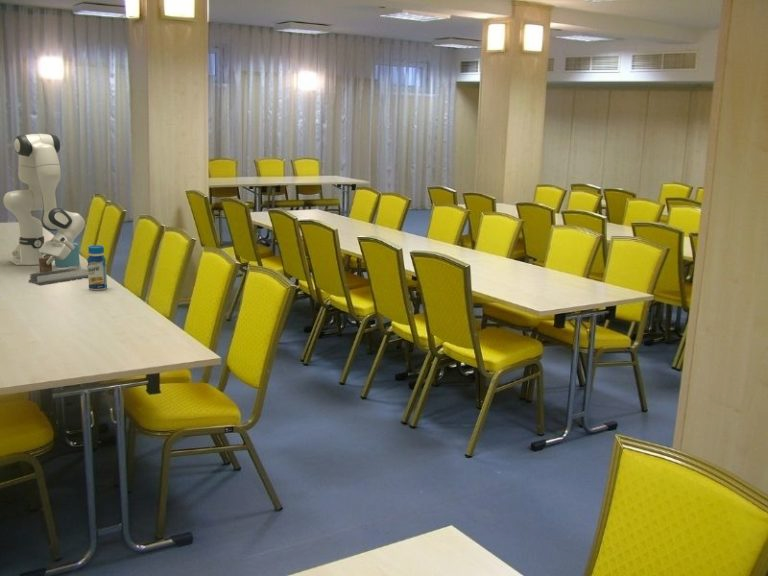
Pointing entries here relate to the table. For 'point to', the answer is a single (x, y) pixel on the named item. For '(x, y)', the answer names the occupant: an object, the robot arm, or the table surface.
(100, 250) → the beverage bottle
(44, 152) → the robot arm
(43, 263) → the brown rectangular block
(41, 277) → the rail
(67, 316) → the table surface
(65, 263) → the data package
